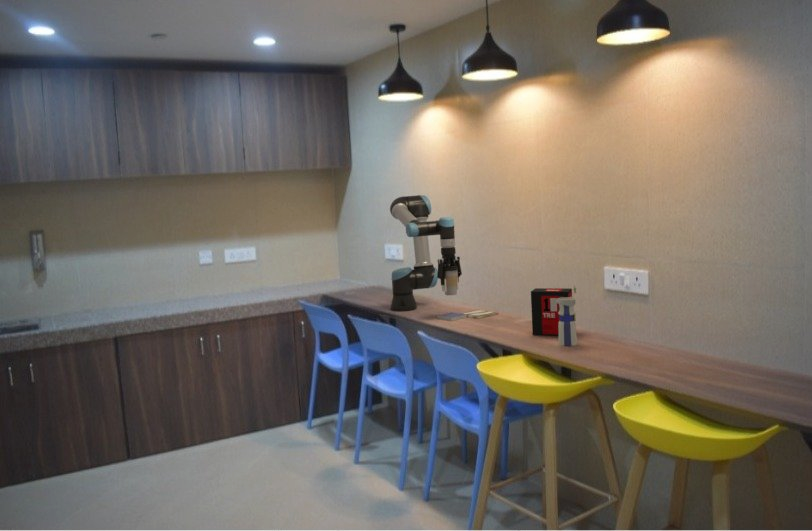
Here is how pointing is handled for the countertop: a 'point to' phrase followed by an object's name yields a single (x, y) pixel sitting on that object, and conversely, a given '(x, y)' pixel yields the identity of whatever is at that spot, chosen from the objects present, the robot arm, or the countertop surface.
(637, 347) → the countertop surface
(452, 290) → the coffee cup
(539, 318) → the cleaning product box
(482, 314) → the board
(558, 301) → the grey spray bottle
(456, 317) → the ink pad
